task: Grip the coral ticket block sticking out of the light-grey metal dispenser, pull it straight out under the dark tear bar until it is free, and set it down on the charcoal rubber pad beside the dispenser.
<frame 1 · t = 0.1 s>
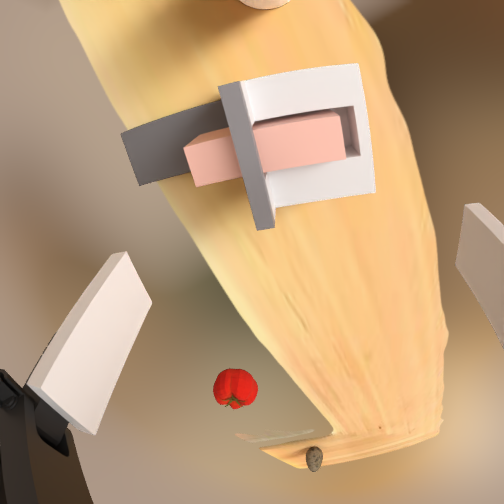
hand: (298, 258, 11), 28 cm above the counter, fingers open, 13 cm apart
ticket: (267, 137, 30), point 5 cm above the counter, touching dispenser
decorative egg: (314, 446, 87), on the counter
pad: (183, 142, 36), on the counter
tomato: (238, 374, 63), on the counter
dispenser: (301, 123, 33), on the counter
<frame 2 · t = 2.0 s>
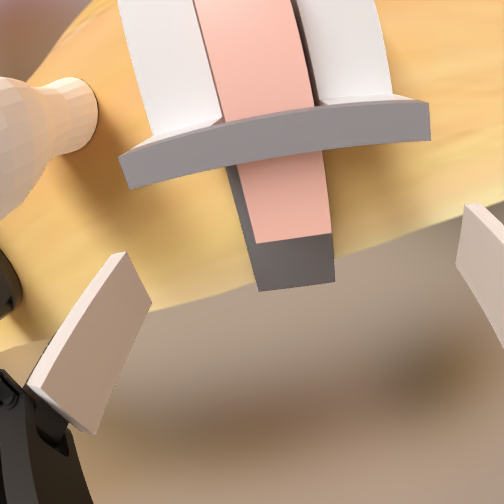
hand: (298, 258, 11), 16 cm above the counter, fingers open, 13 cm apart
ticket: (270, 95, 17), point 5 cm above the counter, touching dispenser
pad: (284, 215, 27), on the counter
dispenser: (261, 45, 19), on the counter
cup: (68, 114, 23), on the counter
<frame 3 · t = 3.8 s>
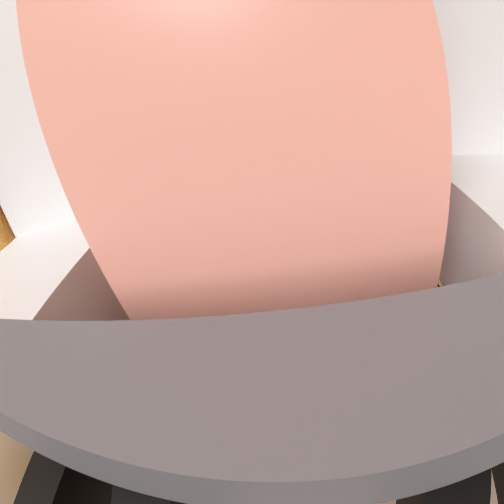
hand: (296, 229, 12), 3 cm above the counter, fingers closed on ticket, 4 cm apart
ticket: (271, 116, 8), point 5 cm above the counter, touching dispenser, gripper
dispenser: (255, 20, 10), on the counter
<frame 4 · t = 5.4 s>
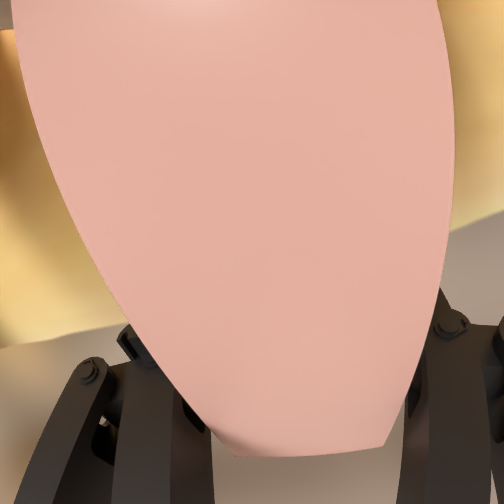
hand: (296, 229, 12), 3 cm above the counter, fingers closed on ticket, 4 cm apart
ticket: (270, 115, 8), point 5 cm above the counter, touching gripper
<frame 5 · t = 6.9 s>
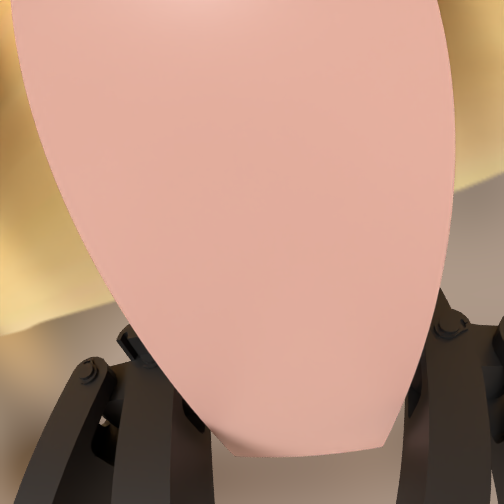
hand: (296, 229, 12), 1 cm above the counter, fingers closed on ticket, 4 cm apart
ticket: (270, 115, 8), point 3 cm above the counter, touching gripper
when the fingers open (1 cm above the counter, at t = 7.5 s): ticket stays where it is, resting on pad.
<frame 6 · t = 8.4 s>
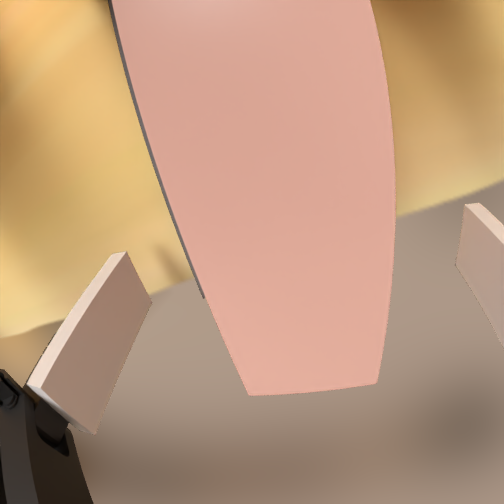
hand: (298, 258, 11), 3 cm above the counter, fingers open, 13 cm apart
ticket: (278, 113, 10), point 1 cm above the counter, touching pad
pad: (246, 112, 10), on the counter
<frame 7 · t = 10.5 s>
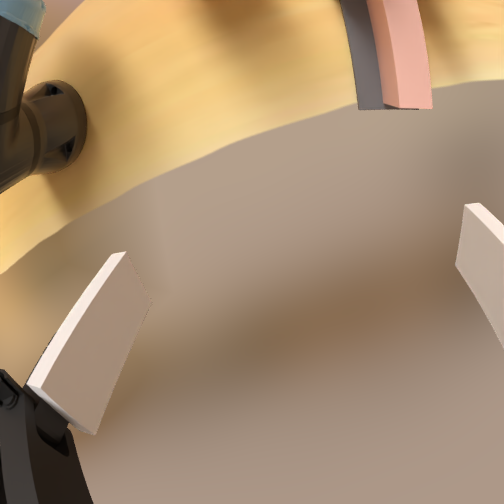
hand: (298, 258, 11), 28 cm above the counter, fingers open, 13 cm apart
ticket: (391, 49, 26), point 1 cm above the counter, touching pad
pad: (381, 47, 27), on the counter
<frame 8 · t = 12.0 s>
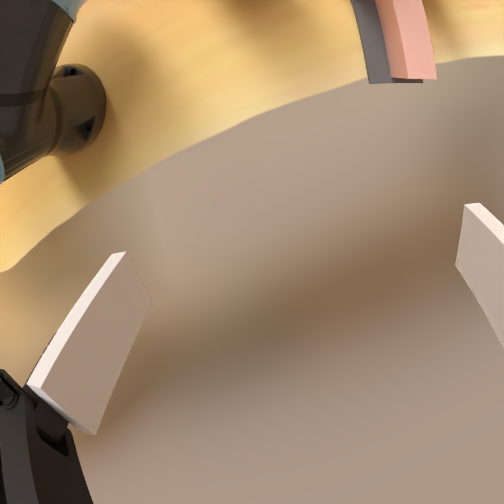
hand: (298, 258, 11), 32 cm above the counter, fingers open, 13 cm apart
ticket: (395, 29, 27), point 1 cm above the counter, touching pad
pad: (386, 28, 28), on the counter
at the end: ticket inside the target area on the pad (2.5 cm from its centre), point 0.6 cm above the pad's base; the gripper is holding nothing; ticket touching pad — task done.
